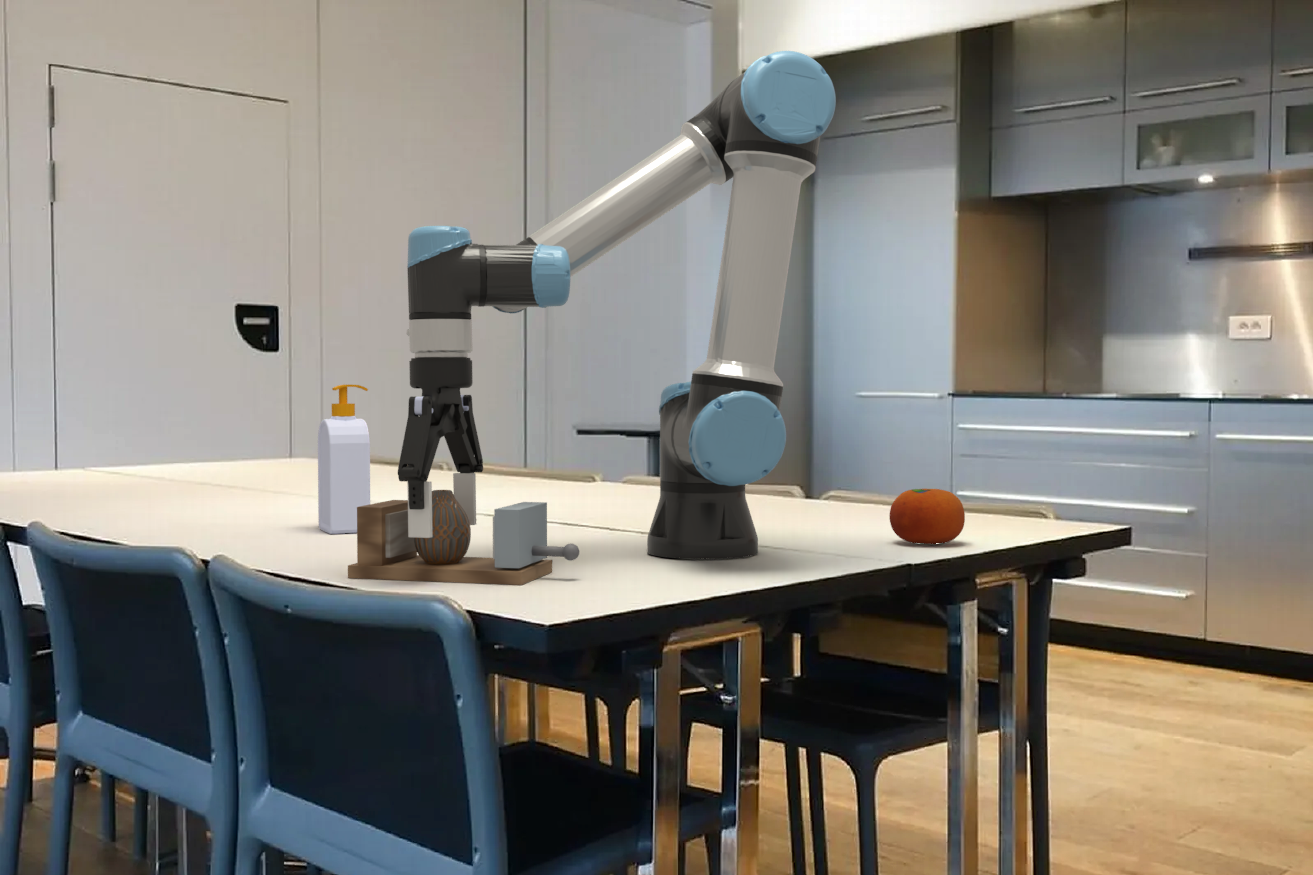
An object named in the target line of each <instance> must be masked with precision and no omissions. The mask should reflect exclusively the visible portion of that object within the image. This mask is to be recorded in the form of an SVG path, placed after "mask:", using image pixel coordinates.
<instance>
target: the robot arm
mask: <svg viewBox="0 0 1313 875" xmlns="http://www.w3.org/2000/svg"><path fill="white" fill-rule="evenodd" d="M836 97H837V96H836V91H835V87H834V84H833V81H832V79H831V77H830V76H829V74H828V73H827V72H826V70H825V68H824V67H823V66H822V65H821V64H820V63H819V62H817V61H816V60H815V59H814V58H813V57H810V56H808V55H807V54H806V53H805V54H804V53H801V52H798V51H793V50H780V51H775V52H772V53H769V54H768V55H763V56H761V57H759V58H758V59H756V60H754V61H753V62H752V63H750V65H749V66H748V67H747V69H746V70H745V71H744V72H742V73H741V74H740V75H738V76H737V77H736V78H734V79H733V80H731V81H730V82H729V84H728V85H727V86H726V87H725V88H724V89H723V90H722V91H721V92H720V93H719V94H718V95H717V96H716V97H715V98H714V99H713V100H712V101H711V102H710V103H709V104H708V105H707V106H705V107H704V108H703V109H702V110H701V111H700V112H698V113H697V114H696V115H694V116H693V117H692V118H690V119H688V120H687V121H686V122H684V123H683V124H682V125H681V128H680V129H681V130H680V135H678V136H677V137H675V138H674V139H673V140H671V141H668V143H667V144H665V145H663V146H661V148H659V149H657V150H656V151H654V152H653V153H652V154H650V155H648V156H647V157H645V158H644V159H643V160H641V161H639V162H638V163H637V164H635V165H633V166H632V167H631V168H629V169H627V170H626V171H625V172H623V173H621V174H620V175H618V176H617V177H616V178H614V179H612V180H611V181H609V182H608V183H606V184H605V185H603V186H602V187H601V188H599V189H597V190H596V191H594V192H592V193H591V194H590V195H589V196H587V197H585V198H584V199H583V200H581V201H580V202H578V203H576V204H575V205H574V206H572V207H570V208H569V209H568V210H566V211H565V212H563V213H562V214H560V215H558V216H557V217H556V218H554V219H553V220H551V221H549V222H548V223H547V224H545V225H544V226H542V227H541V228H539V229H537V231H535V232H533V233H532V234H530V235H529V236H527V237H526V238H525V239H523V240H521V241H520V242H518V243H516V244H506V245H505V244H502V245H501V244H494V245H493V244H478V243H473V240H472V239H471V233H470V231H469V229H467V228H465V227H462V226H456V225H455V226H449V225H427V226H425V225H424V226H421V227H420V226H419V227H416V228H414V229H412V231H411V232H410V233H409V234H408V240H407V241H408V242H407V266H406V268H407V270H406V271H407V298H408V299H407V300H408V323H409V324H408V329H406V335H407V337H409V338H408V339H409V352H410V353H411V354H414V358H413V357H412V358H410V360H409V386H410V387H411V388H412V389H421V396H419V395H418V396H409V398H408V410H407V411H408V412H407V413H408V415H407V421H406V426H405V430H404V436H403V442H402V446H401V453H400V458H399V462H398V468H397V476H398V480H399V482H406V483H407V500H408V537H419V538H431V537H433V536H432V491H433V489H432V487H433V485H432V482H433V481H430V480H429V481H428V479H429V476H430V472H431V469H432V466H433V462H434V459H435V456H436V453H437V450H438V448H439V444H440V440H441V438H443V437H444V439H445V442H446V445H447V447H448V450H449V453H450V455H451V458H452V461H453V463H454V467H455V470H456V471H457V472H454V473H452V476H453V479H452V480H453V481H452V482H453V487H452V488H453V495H454V497H455V499H456V500H457V501H458V503H459V504H460V505H461V507H462V508H463V509H464V511H465V512H466V514H467V516H468V519H469V523H470V526H476V525H477V491H476V490H477V488H476V487H477V486H476V484H477V483H476V480H477V479H476V477H477V476H476V473H483V471H484V464H483V463H484V461H483V456H482V449H481V446H480V439H479V436H478V431H477V427H476V422H475V417H474V411H473V398H472V394H461V389H470V388H471V387H472V386H473V383H474V382H473V360H471V357H468V354H470V353H472V352H473V320H472V307H483V308H484V307H492V308H493V309H494V310H497V311H499V312H501V313H505V314H506V313H507V314H518V313H520V312H522V311H524V310H526V309H527V308H530V307H531V308H534V307H535V308H538V307H539V308H542V309H546V308H547V307H548V308H549V307H562V306H564V305H566V304H567V303H568V300H569V298H570V291H571V278H572V277H573V276H574V275H576V274H577V273H579V272H580V271H582V270H584V269H585V268H586V267H588V266H590V265H591V264H592V263H594V262H595V261H597V260H598V259H600V258H601V257H603V256H604V255H606V254H607V253H609V252H610V251H612V250H613V249H614V248H616V247H618V246H620V245H621V244H622V243H624V242H625V241H627V240H629V239H630V238H631V237H633V236H634V235H636V234H637V233H639V232H640V231H641V230H643V229H645V228H646V227H648V226H649V225H650V224H652V223H654V222H655V221H656V220H658V219H659V218H661V217H662V216H664V215H665V214H667V213H668V212H670V211H672V210H673V209H674V208H676V207H677V206H679V205H680V204H682V203H684V202H685V201H686V200H688V199H689V198H691V197H693V196H694V195H695V194H697V193H698V192H699V191H701V190H703V189H704V188H706V187H707V186H709V185H711V184H714V185H719V186H722V185H724V184H725V183H727V182H728V181H729V180H732V184H731V191H730V198H729V204H728V212H727V219H726V224H725V231H724V240H723V246H722V251H721V252H722V253H721V258H720V265H719V266H720V267H719V273H718V281H717V284H716V285H717V287H716V293H715V299H714V307H713V314H712V320H711V326H710V334H709V341H708V348H707V354H706V359H705V361H703V363H701V365H698V367H696V368H695V369H694V370H692V374H691V375H692V376H691V381H687V382H677V383H673V384H670V385H668V386H667V385H666V387H665V388H663V389H662V391H661V394H660V401H659V402H660V403H659V407H658V414H659V441H660V442H659V445H660V446H659V447H660V448H659V463H660V464H659V471H660V472H659V478H660V479H659V483H660V484H659V485H660V486H659V488H660V489H659V491H660V492H659V500H658V503H657V506H656V509H655V511H654V515H653V519H652V522H651V525H650V527H649V532H648V535H647V542H646V544H647V545H646V546H647V550H646V552H647V554H649V555H652V556H655V557H662V558H669V559H683V560H684V559H685V560H726V559H727V560H728V559H737V558H740V559H741V558H747V557H751V556H752V557H753V556H755V555H757V554H758V553H759V538H758V537H759V536H758V533H757V531H756V527H755V524H754V521H753V518H752V515H751V512H750V511H751V510H750V508H749V505H748V502H747V499H746V498H747V497H746V485H748V484H752V483H755V482H758V481H760V480H762V479H763V478H764V477H766V476H767V475H769V474H770V473H771V471H773V470H774V469H775V468H776V467H777V465H778V463H779V462H780V460H781V459H782V457H783V454H784V451H785V448H786V443H787V429H786V424H785V421H784V418H783V416H782V414H781V405H782V397H783V391H784V383H783V382H782V380H781V378H780V377H779V376H778V375H777V374H776V371H775V362H776V357H777V356H776V355H777V351H778V350H777V348H778V341H779V335H780V327H781V322H782V314H783V308H784V301H785V295H786V288H787V280H788V274H789V273H788V272H789V266H790V261H791V253H792V249H793V248H792V247H793V241H794V233H795V228H796V227H795V226H796V220H797V214H798V207H799V201H800V200H799V199H800V194H801V193H800V192H801V185H802V183H803V181H804V180H805V179H807V178H808V177H809V176H810V175H812V174H814V173H815V172H816V166H817V160H818V153H819V148H820V146H819V145H820V141H821V136H822V135H823V134H824V133H825V132H826V131H827V129H828V127H829V125H830V124H831V122H832V119H833V117H834V115H835V110H836V104H837V102H836V100H837V98H836Z"/></svg>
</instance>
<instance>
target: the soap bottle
mask: <svg viewBox="0 0 1313 875" xmlns="http://www.w3.org/2000/svg"><path fill="white" fill-rule="evenodd" d="M348 388H357V389H360V390H364V391H365V392H368V390H369V388H367V387H365V386H362V385H360V384H339V385H336V386H334V387H332V388H331V389H332V391H338V403H331V416H330V418H325V419H322V420H321V421H320V423H319V427H318V434H317V482H318V483H317V484H318V485H317V487H318V488H317V489H318V490H317V494H318V496H317V497H318V498H317V499H318V501H317V502H318V503H317V504H318V506H317V507H318V529H319V530H320V529H321V531H323V532H325V533H327V534H329V535H345V533H350V534H357V507H359V506H364V505H370V504H371V443H370V442H371V440H370V439H371V438H370V433H369V427H368V424H367V421H366V420H364V418H357V416H356V411H355V410H356V403H348Z"/></svg>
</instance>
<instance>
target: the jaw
mask: <svg viewBox="0 0 1313 875" xmlns="http://www.w3.org/2000/svg"><path fill="white" fill-rule="evenodd" d="M493 512H494V515H492V558H493V559H495V568H521V567H524V566H526V565H529V564H532V563H534V562H537V561H539V560H546V558H548V557H554V558H555V557H557V558H560V557H561V558H564V559H566V560H567V561H575V560H577V559H578V557H579V555H580V549H579V547H578V545H577V544H575V543H568V544H566V545H564V546H557V545H555V546H554V545H553V546H552V545H548V502H547V501H546V502H543V501H542V502H541V501H538V502H537V501H522V502H518V503H514V504H510V505H507V506H502V507H499V508H494V510H493Z"/></svg>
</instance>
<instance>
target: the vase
mask: <svg viewBox="0 0 1313 875" xmlns="http://www.w3.org/2000/svg"><path fill="white" fill-rule="evenodd" d="M471 528H472V527H471V525H470V523H469V519H468V516H467V514H466V512H465V511H464V509H463V508H462V507H461V505H460V504H459V503H458V501H457V500H456V499H455V497H454V491H452V490H451V489H434V490H433V489H432V536H433V537H431V538H419V537H413V538H414V544H415V548H416V550H417V555H419V556H420V557H421V558H422V559H423V560H424V561H425V562H426V563H429V564H453V563H458V562H459V561H460V560H461V559H462V558H463V557H466V554H467V553H468V550H469V548H470V544H471V538H472V537H471V536H472V535H471V534H472V532H471Z"/></svg>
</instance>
